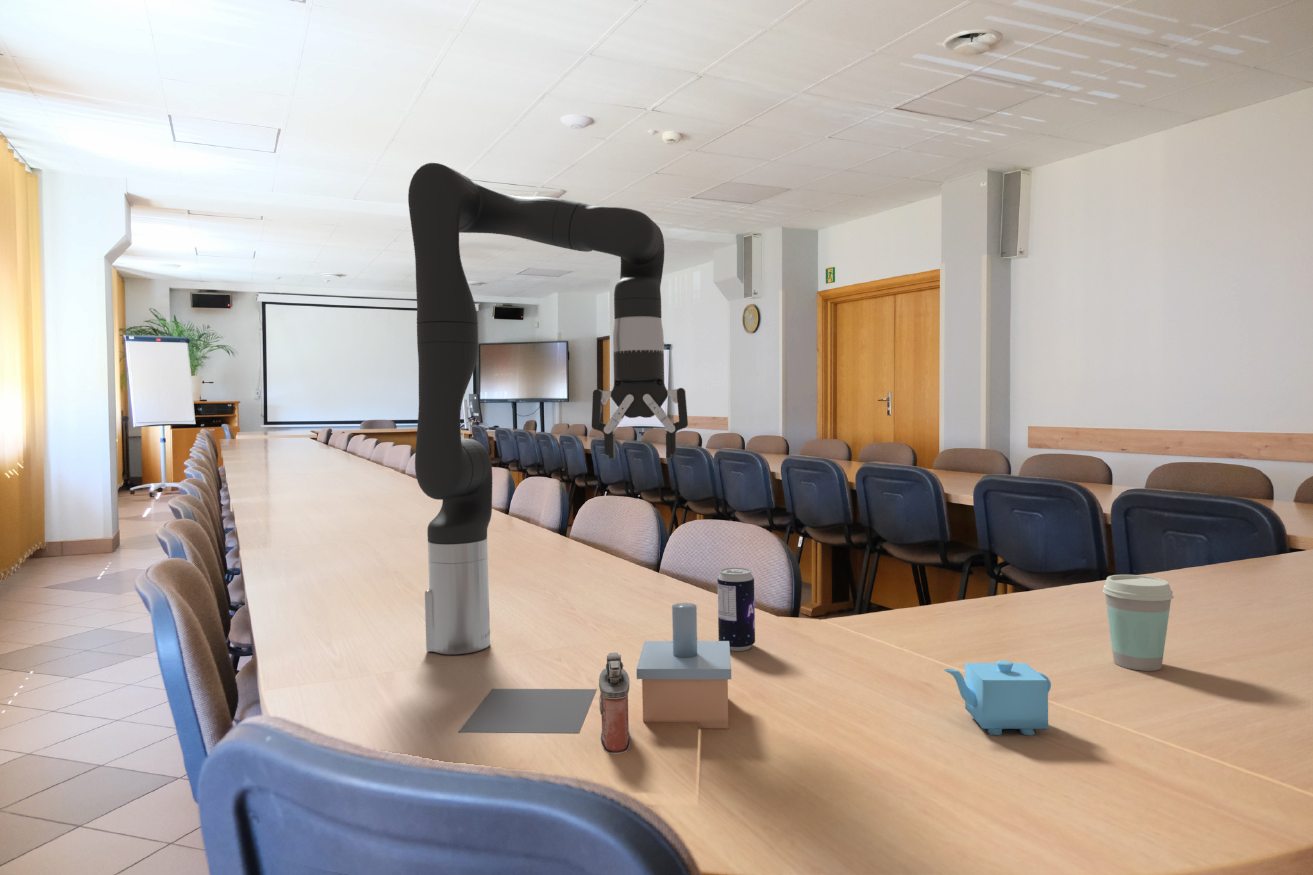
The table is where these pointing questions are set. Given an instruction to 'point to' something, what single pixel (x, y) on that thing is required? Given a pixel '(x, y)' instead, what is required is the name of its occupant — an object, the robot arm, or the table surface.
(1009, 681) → the teapot
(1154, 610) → the coffee cup
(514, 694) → the mat
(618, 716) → the lighter
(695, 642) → the lid
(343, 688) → the table surface
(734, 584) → the beverage can
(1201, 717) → the table surface
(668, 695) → the tan open box
